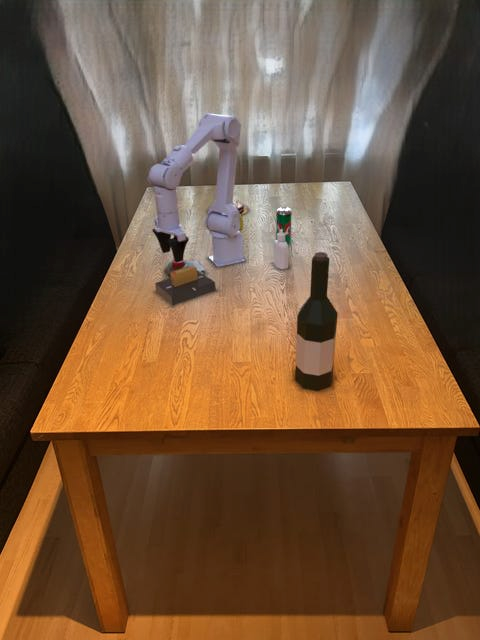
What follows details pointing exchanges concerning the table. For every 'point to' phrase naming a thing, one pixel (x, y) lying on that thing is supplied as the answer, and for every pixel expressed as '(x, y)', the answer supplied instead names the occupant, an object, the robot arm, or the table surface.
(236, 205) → the sushi roll
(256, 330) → the table surface
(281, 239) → the eye dropper bottle
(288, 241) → the soda can
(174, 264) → the button
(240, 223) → the lemon
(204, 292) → the block
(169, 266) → the button box
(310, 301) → the wine bottle
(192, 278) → the gold rectangular bar
